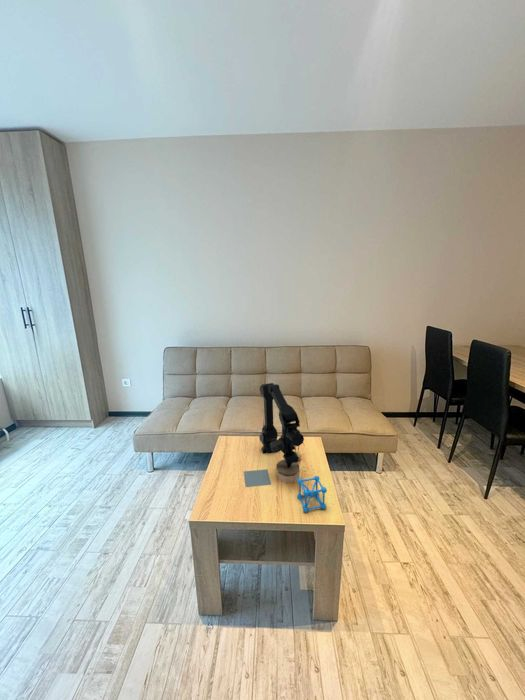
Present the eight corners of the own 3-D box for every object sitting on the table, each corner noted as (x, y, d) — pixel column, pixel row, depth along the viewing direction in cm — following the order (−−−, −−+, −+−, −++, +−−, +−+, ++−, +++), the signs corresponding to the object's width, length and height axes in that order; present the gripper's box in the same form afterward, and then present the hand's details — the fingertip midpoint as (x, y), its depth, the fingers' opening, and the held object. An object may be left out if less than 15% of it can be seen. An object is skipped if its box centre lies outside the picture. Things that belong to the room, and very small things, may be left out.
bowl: (276, 471, 149) (276, 464, 148) (295, 470, 150) (295, 462, 150) (279, 484, 140) (279, 477, 139) (300, 482, 141) (300, 475, 140)
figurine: (290, 462, 157) (290, 441, 155) (288, 455, 163) (288, 435, 161) (305, 461, 158) (306, 440, 156) (303, 454, 164) (303, 434, 161)
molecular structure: (327, 510, 124) (327, 488, 121) (303, 514, 122) (304, 492, 119) (317, 494, 133) (318, 474, 131) (296, 497, 131) (296, 477, 129)
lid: (274, 462, 149) (274, 453, 148) (296, 460, 150) (296, 451, 149) (278, 476, 138) (278, 466, 137) (302, 473, 139) (302, 464, 138)
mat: (243, 472, 149) (243, 471, 149) (267, 470, 151) (267, 469, 151) (245, 488, 138) (245, 487, 138) (271, 485, 139) (271, 484, 139)
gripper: (268, 427, 148) (268, 455, 152) (274, 447, 130) (274, 479, 134) (290, 425, 150) (290, 454, 153) (299, 445, 132) (299, 476, 135)
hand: (287, 465), depth 144 cm, fingers closed on lid, 3 cm apart
